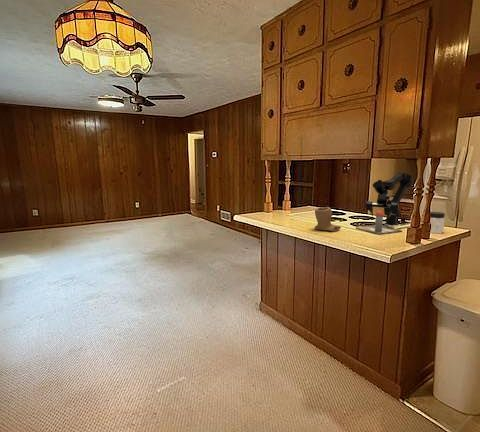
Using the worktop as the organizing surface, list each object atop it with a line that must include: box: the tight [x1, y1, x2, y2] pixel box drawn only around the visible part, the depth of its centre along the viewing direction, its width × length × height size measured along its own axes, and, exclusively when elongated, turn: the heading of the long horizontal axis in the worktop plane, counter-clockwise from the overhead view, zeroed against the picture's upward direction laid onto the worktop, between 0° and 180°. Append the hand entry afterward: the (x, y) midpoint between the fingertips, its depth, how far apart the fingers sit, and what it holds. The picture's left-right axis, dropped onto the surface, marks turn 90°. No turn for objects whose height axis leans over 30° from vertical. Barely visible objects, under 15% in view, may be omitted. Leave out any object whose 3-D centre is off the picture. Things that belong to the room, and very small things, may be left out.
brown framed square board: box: [355, 224, 403, 236], centre depth 189 cm, size 19×19×2 cm
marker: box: [374, 210, 385, 232], centre depth 180 cm, size 4×4×12 cm
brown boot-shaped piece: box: [314, 206, 342, 232], centre depth 189 cm, size 15×12×15 cm
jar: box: [430, 211, 446, 234], centre depth 182 cm, size 9×8×12 cm
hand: (380, 216), depth 186 cm, fingers open, 9 cm apart
